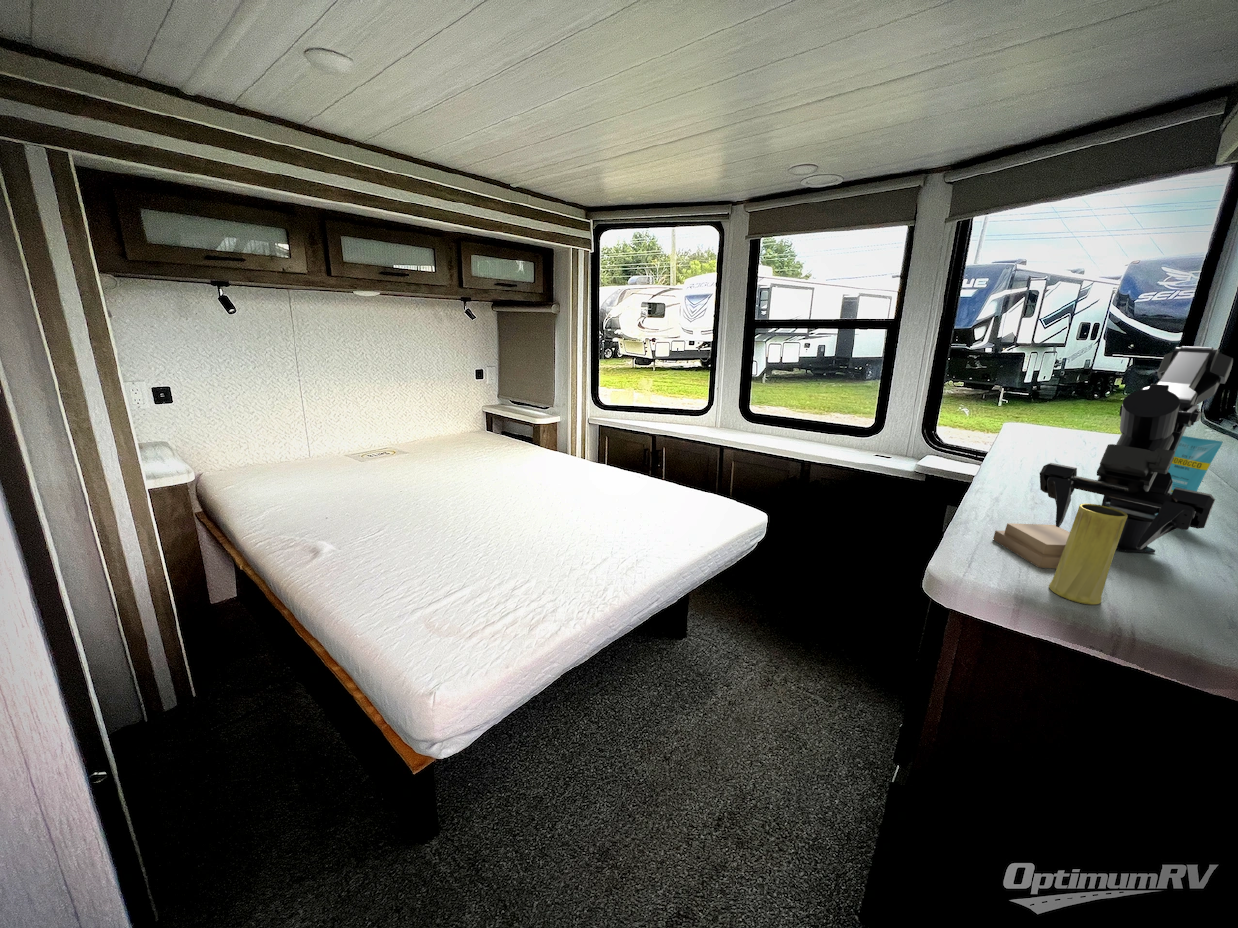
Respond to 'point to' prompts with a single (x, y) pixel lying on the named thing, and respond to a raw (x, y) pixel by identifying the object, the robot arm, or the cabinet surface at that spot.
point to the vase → (1088, 553)
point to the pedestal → (1034, 542)
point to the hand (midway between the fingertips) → (1096, 536)
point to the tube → (1192, 462)
